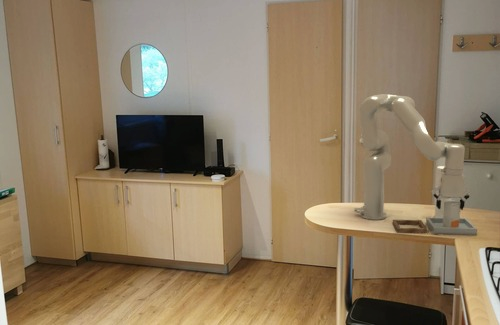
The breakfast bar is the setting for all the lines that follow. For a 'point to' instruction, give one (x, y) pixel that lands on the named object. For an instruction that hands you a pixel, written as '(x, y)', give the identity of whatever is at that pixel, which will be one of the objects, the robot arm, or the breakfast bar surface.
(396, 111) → the robot arm
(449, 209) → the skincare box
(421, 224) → the frame
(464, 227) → the grey tray
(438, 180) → the cylindrical container
